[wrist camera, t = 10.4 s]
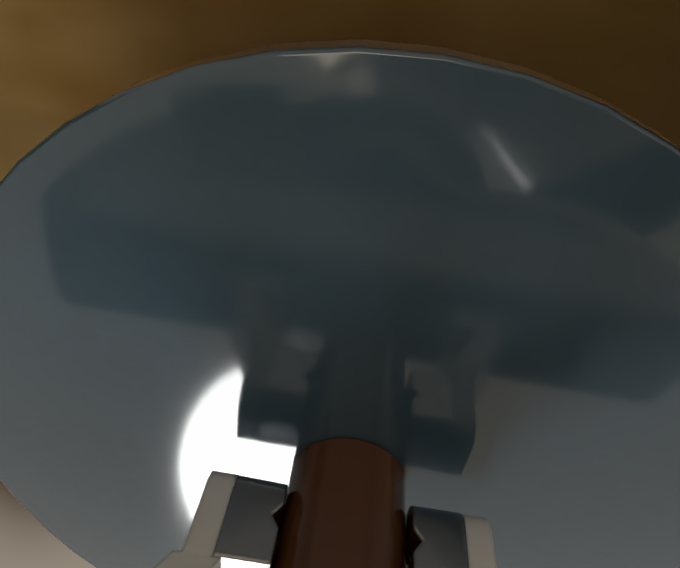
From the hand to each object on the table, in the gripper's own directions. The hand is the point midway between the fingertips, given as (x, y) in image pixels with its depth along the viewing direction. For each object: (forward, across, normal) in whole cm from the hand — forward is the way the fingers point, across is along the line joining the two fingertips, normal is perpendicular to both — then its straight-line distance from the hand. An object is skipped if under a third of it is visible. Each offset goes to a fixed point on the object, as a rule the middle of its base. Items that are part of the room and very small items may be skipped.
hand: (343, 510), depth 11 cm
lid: (+2, 0, 0) cm, 2 cm away
